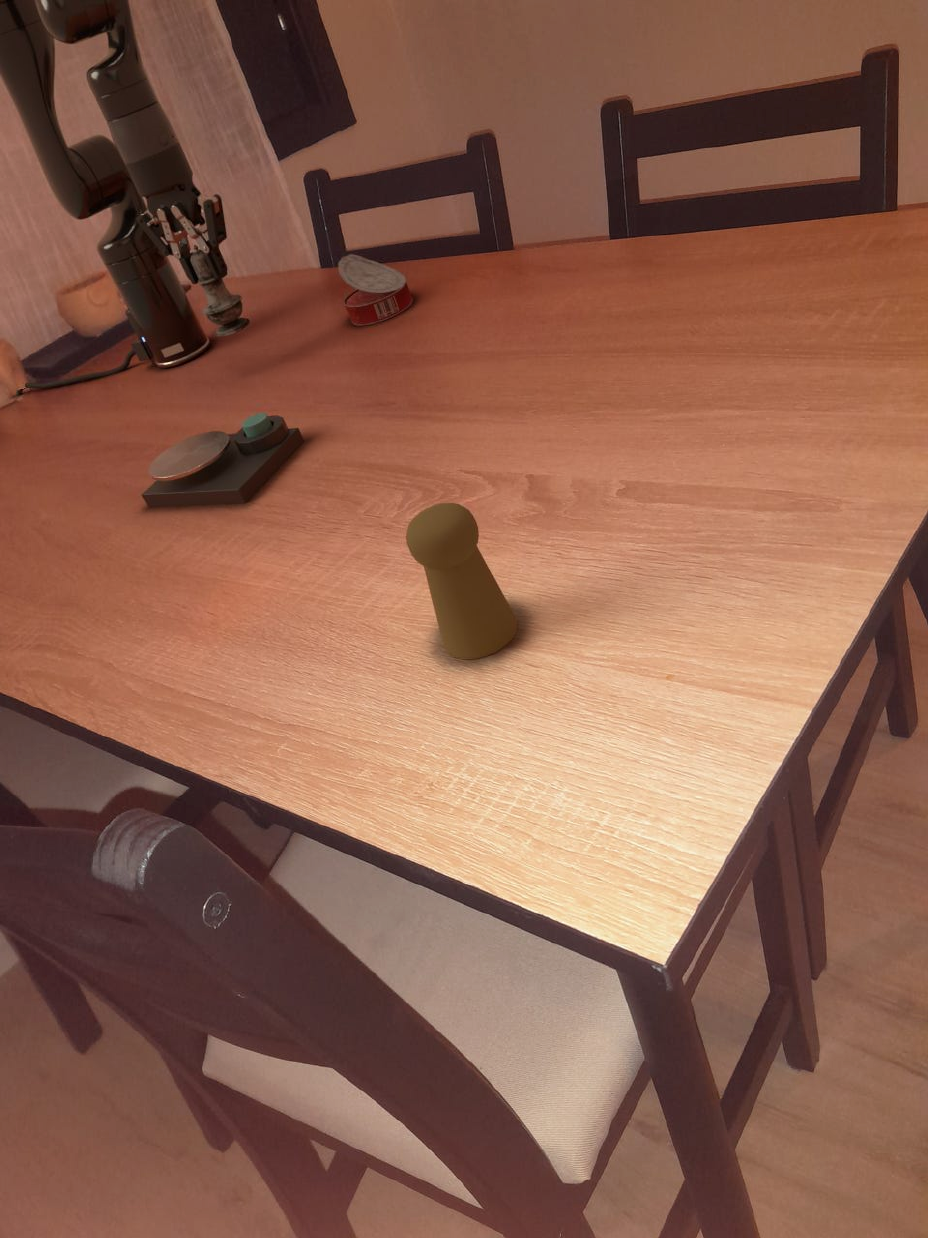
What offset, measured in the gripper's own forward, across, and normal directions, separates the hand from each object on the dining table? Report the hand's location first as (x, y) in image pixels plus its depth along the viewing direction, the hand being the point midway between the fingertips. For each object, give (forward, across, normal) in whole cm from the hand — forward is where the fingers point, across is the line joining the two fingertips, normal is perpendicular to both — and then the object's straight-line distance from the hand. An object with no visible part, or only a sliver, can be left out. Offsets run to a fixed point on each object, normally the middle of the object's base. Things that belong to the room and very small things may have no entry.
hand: (210, 278), depth 131 cm
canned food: (+14, -14, -16) cm, 26 cm away
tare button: (+10, -20, +25) cm, 34 cm away
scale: (+14, -16, +29) cm, 36 cm away
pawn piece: (+13, -62, +55) cm, 84 cm away
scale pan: (+10, -14, +30) cm, 35 cm away
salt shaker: (+7, 0, 0) cm, 7 cm away
